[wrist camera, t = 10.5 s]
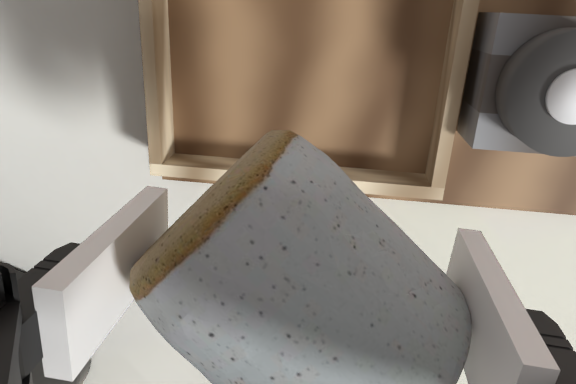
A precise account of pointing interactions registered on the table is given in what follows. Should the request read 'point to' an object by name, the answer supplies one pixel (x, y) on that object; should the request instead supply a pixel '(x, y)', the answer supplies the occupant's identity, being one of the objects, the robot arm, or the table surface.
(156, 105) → the board
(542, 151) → the wheel
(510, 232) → the table surface
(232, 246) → the ceramic mug
